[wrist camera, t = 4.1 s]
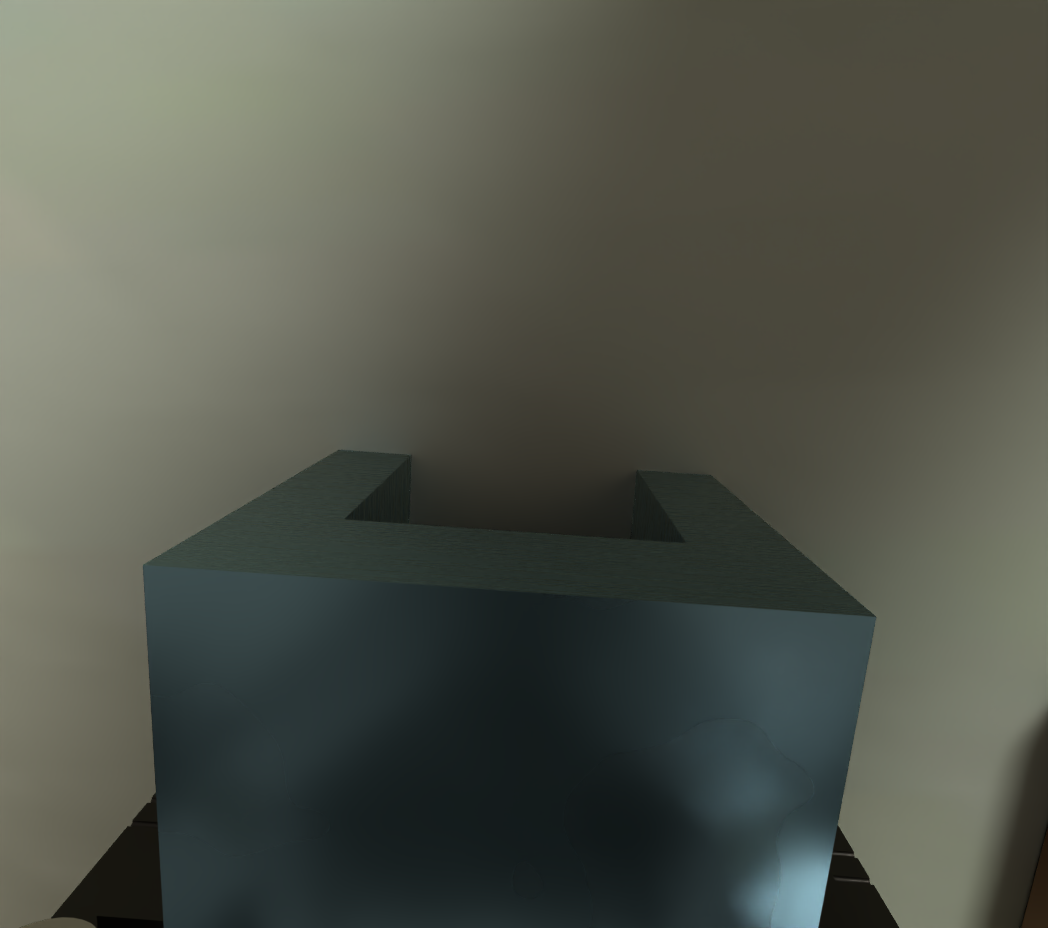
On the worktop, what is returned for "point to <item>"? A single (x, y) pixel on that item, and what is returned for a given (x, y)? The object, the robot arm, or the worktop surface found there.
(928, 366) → the worktop surface
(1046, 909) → the rail stand
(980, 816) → the worktop surface
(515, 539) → the block
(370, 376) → the worktop surface
